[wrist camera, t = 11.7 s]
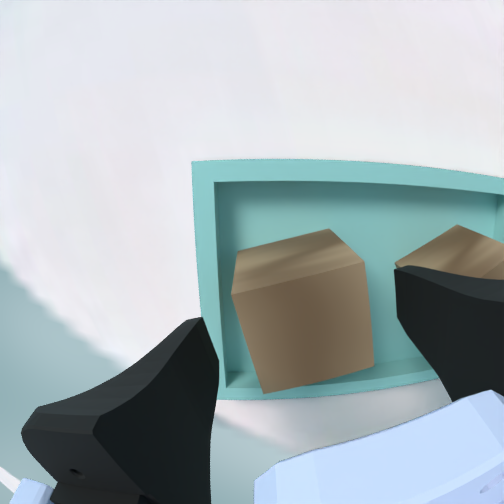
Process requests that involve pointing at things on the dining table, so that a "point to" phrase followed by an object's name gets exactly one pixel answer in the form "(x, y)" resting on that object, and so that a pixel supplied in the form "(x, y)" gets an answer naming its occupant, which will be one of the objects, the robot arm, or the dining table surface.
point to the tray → (347, 229)
